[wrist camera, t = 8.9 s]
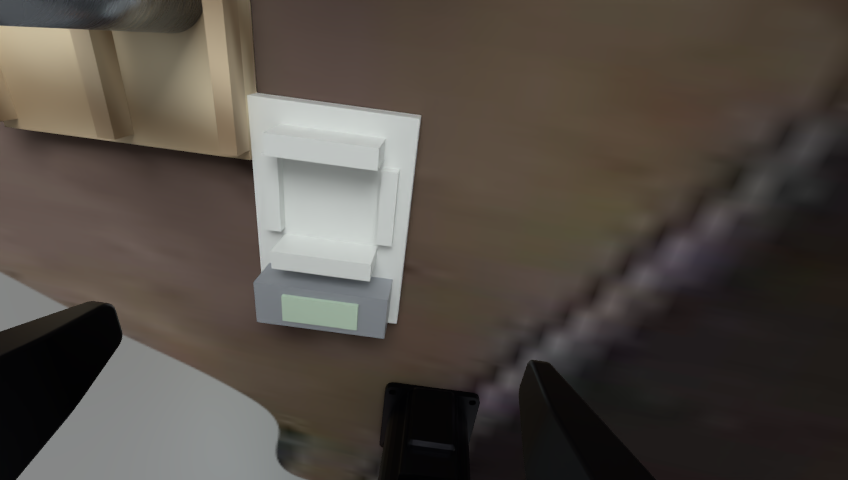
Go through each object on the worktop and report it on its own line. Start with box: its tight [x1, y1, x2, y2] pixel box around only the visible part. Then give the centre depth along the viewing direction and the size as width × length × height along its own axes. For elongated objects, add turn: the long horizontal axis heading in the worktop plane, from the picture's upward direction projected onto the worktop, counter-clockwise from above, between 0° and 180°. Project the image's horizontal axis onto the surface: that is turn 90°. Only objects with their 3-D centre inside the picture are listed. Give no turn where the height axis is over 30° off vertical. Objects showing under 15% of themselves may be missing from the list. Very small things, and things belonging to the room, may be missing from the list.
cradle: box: [247, 93, 421, 339], centre depth 20 cm, size 12×8×3 cm, turn 173°
